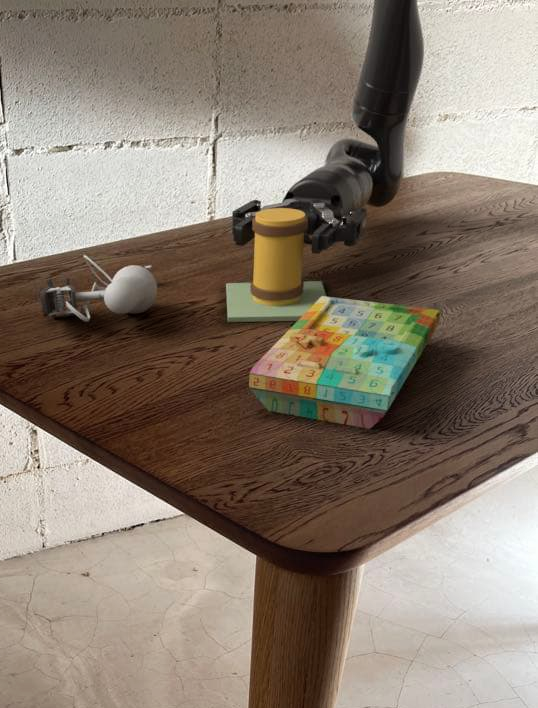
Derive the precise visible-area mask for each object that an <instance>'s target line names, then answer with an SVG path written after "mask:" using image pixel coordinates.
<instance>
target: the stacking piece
mask: <svg viewBox="0 0 538 708" xmlns="http://www.w3.org/2000/svg"><path fill="white" fill-rule="evenodd" d="M307 228H308V218H307V217H306V216H305V213H304V212H303V211H300V210H296V209H290V208H273V209H266V210H262V211H259V212H258V213H256V216H255V217H254V218H253V221H252V230H253V231H254V232H255V237H254V248H253V249H254V251H253V275H252V276H253V279H252V280H251V281H250V283H251V285H250V292H251V294H252V295H253V300H254V301H255V302H257V303H260V304H263V305H269V306H284V305H290V304H293V303H296V302H297V301H299V299H300V295H302V293H303V288H304V283H303V282H304V281H303V280H302V276H303V274H302V273H303V259H304V244H305V243H304V232H305V231H306V230H307Z"/></svg>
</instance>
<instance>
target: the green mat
mask: <svg viewBox="0 0 538 708" xmlns="http://www.w3.org/2000/svg"><path fill="white" fill-rule="evenodd" d="M303 283H304V288H303V293H302V295H300V299H299V301H297V302H296V303H293V304H290V305H284V306H269V305H263V304H260V303H257V302H255V301H254V300H253V295H252V294H251V292H250V285H251V282H229V283H228V282H226V284H225V293H226V311H227V313H226V315H227V323H257V322H258V323H264V322H297V321H298V320H299V319H300V318H301V317H302V316H303V315H304V314H305V313H306V312H307V311H308V310H309V309H310V308H311V307H312V306H313V305H314V304H315V303H316V302H317V300H318V299H319V298H320V297H321V296H326V297H327V293H326V291H325V287H324V285H323V282H322V281H321V280H316V281H313V280H311V281H310V280H309V281H308V280H307V281H303Z"/></svg>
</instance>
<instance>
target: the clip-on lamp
mask: <svg viewBox="0 0 538 708" xmlns="http://www.w3.org/2000/svg"><path fill="white" fill-rule="evenodd" d="M83 259H84V260H85V263H86V264H87V266H88V267H89V269H90V270H91V271H92V273H93V274H94V275H95V277H96V278H97V279H98V280H99V281H100V282H101V283H102V284H103V285H105V286H107V287H102V286H100V285H98V284H97V282H94V283H93V286H92V289H91V291H83V292H82V291H81V292H76V288H75V287H74V286H72V284H71V281H70V279H71V278H70V276H69V275H66V276H65V285H66V286H62V287H61V286H57V287H54V286H53V279H52V277H48V278H46V281H47V282H46V283H47V286H46V288H44V289H43V290H40V300H41V307H42V315H43V317H44V318H46V317H49V316H51V318H52V319H56V318H57V315H64V314H69V316H70V317H74V316H76V317H78V318H79V319H80V320H82V321H83V322H85V323H88V322H90V320H91V315H90V311H89V309H88V307H89V305H90V303H91V302H92V301H104V304H105V306H106V307H107V309H109V311H111V312H112V313H114V314H117V315H125V314H133V315H136V314H141V313H144V312H146V311H147V310H148V309H150V308H151V306H153V304H154V303H155V301H156V298H157V295H158V283H157V281H156V278H155V277H154V275H153V273H152V272H151V271H150V269H152V268H153V265H152V264H150V265H145V266H144V265H134V264H131V265H128V266H124V267H123V268H121V269H119V270H118V271H117V272H116V273H115V275H114V276H113V277H112V278H111V276H109V274H107V272H105V270H103V269H102V267H100V266H99V265H98V264H97V263H96V262H94V261H93V260H92V259H91V258H89V256H87V255H86V254H84V255H83ZM92 265H93V266H94V267H95V268H96V269H97V270H98V271H99V272H101V274H103V275H104V276H105V278H106V279H108V280H109V281H110V283H107V282H105V281H104V280H103V279H102V278H101V277H100V276H99V275H98V273H97V272H96V271H95V269H94V268H93V267H92ZM148 269H149V270H148ZM64 291H66V295H67V300H66V301H65V299H64V298H65V296H64V295H65V293H64ZM79 302H86V303H85V304H83V305H82V306H81V308H80V311H79V310H78V305H77V303H79ZM65 307H66V309H65ZM82 313H85V315H86V316H85V315H84V314H82Z"/></svg>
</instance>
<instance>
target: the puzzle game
mask: <svg viewBox="0 0 538 708" xmlns="http://www.w3.org/2000/svg"><path fill="white" fill-rule="evenodd" d="M441 313H442V311H441V310H440V309H433V308H425V307H417V306H409V305H401V304H400V305H399V304H394V303H393V304H391V303H385V302H376V301H368V300H358V299H350V298H342V297H334V296H327V295H326V296H321V297H320V298H319V299H318V300H317V302H316V303H315V304H314V305H313V306H312V307H311V308H310V309H309V310H308V311H307V312H306V313H305V314H304V315H303V316H302V317H301V318H300V319H299V320H298V321H295V323H294V324H293V325H292V326H291V327H290V328H289V329H288V330H287V331H286V332H285V333H284V334H283V335H282V337H281V338H279V339H278V341H277V342H275V343H274V345H273V346H272V347H270V349H269V350H268V351H267V352H266V353H265V354H264V355H263V356H262V357H261V358H260V359H259V360H258V361H257V362H256V363H255V364H254V365H253V366H252V368H251V370H250V371H249V372H248V389H250V391H251V392H252V394H253V395H254V396H255V397H256V398H257V399H258V400H259V401H260V403H261V404H262V405H263V406H264V408H265V409H266V410H267V411H269V412H273V413H278V414H285V415H289V416H295V417H300V418H301V417H302V418H306V419H313V420H317V421H323V422H329V423H333V424H339V425H340V424H341V425H345V426H350V427H351V426H352V427H356V428H357V427H358V428H363V429H368V430H369V429H370V430H371V429H372V427H374V426H375V425H376V424H378V422H380V421H381V420H382V419H383V418H384V416H385V415H386V414H387V412H388V410H389V409H390V407H391V406H392V404H393V402H394V400H395V399H396V397H397V395H398V393H399V392H400V390H401V389H402V387H403V385H404V384H405V382H406V380H407V378H408V377H409V375H410V373H411V371H412V370H413V369H414V367H415V365H416V363H417V361H418V360H419V358H420V356H421V355H422V353H423V351H424V350H425V348H426V346H427V345H428V343H429V342H430V340H431V338H432V337H433V335H434V333H435V331H436V329H437V328H438V326H439V324H440V321H441Z"/></svg>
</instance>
